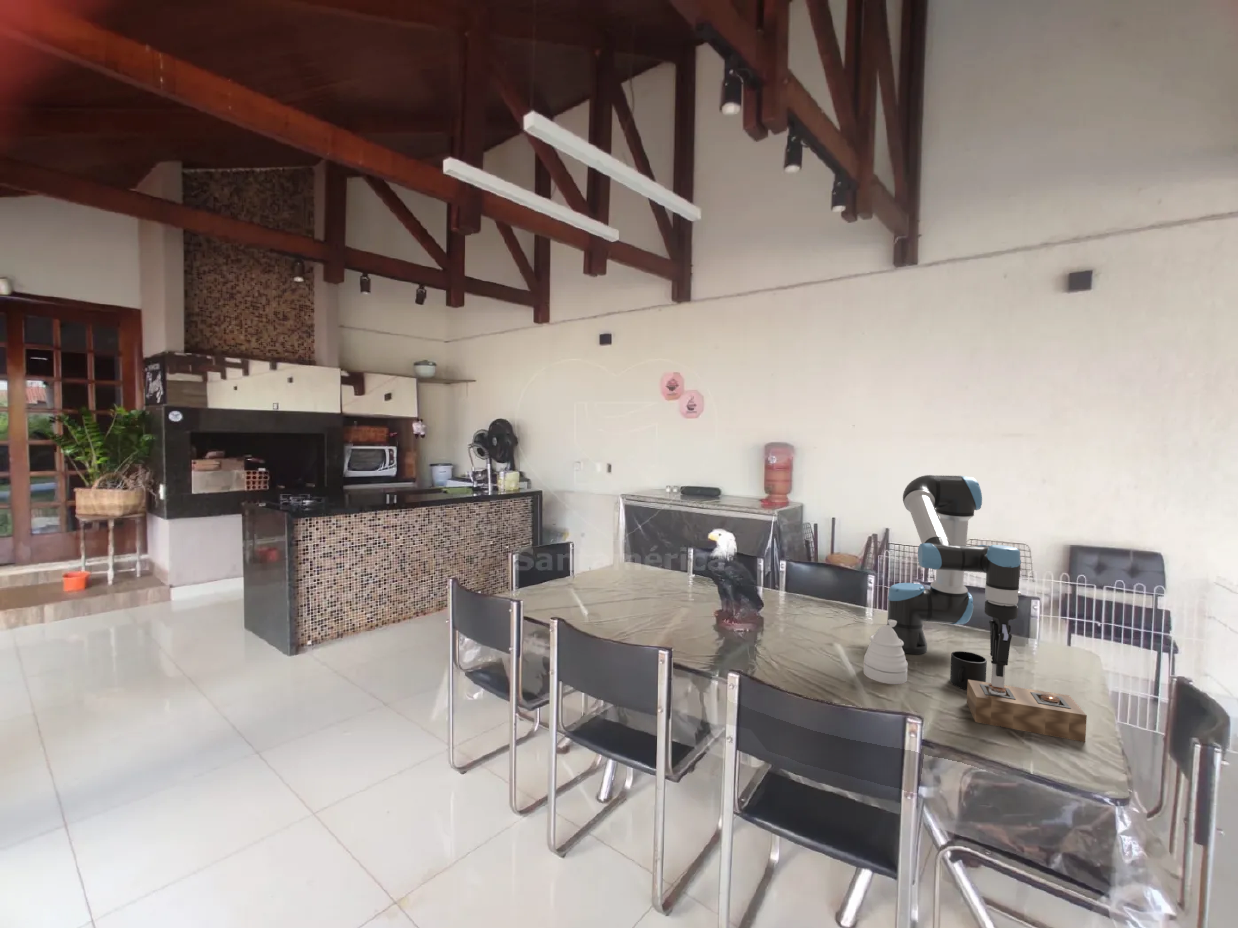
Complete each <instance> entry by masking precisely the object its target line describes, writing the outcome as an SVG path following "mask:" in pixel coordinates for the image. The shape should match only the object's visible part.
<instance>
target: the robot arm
mask: <svg viewBox="0 0 1238 928" xmlns="http://www.w3.org/2000/svg"><path fill="white" fill-rule="evenodd" d="M982 494H983V493H982V490H981V486H980V484H979V482H978V480H977V479H976V478H974V477H973V476H965V475H933V474H925V475H921V476H918V477H916V478H914V479H912V480H911V481H910V482H909V483H908V484H907V485H906V487H905V489H904V491H903V493H902V501H903V506H904V508H905V509H906V510H907V511H908V512H909V513H910V516H911V518H912V521H913V523H914V526H915V529H916V532H917V535H918V536H919V540H920V542H921V543H920V544H919V546H918V547H917V561H918V564H919V566H920V567H922V568H924V569H932V570H936V571H935V580H934V581H932V582H931V583H930V587H929V588H925V587H924V585H923V584H921V583H914V582H899V583H895V584H892V585H891V586H889V588H888V596H887V622H886V623H887V624H886V625H889V623H888V620H896V621H897V624H896V625H895V626H894V627H892V628H893V630H894V631H895V632H896V634H897V636H898V638H899V639H901V640H902V641H903V642H904V645H903V646H902V649H903V651H904V654H908V655H922V654H923V655H924V654H925V653H927V651H928V642H927V640H926V636H925V632H924V630H923V625H924V624H923V623H924V622H928V623H929V622H930V623H941V624H948V625H966V624H967V623H968V622H969V621H970V620H971V618H972V615H973V611H974V604H973V603H974V599H973V596H972V594H971V593H970V592H969V590H968V587H966V585H964V578H965V572H968V573H969V572H970V573H971V572H972V573H984V574H985V586H984V587H985V588H984V589H985V590H984V592H985V593H984V599H986V600H985V601H984V613H985V615H987V616H988V617H991V618H992V620H991V619H990V620H989V622H988V623H989V634H990V635H989V637H990V638H989V639H990V641H989V642H990V644H989V645H990V651H989V652H990V653H989V654H990V656H991V660H990V662H991V678H990V679H991V680H990V681H991V682H990V683H991V685H992V686H994V687H1000V688H1004V685H1005V680H1006V679H1005V678H1006V677H1005V676H1006V675H1005V673H1006V666H1008V665H1009V658H1010V657H1009V656H1010V649H1011V648H1010V647H1011V641H1012V637H1013V635H1012V633H1010V632H1011V628H1012V627H1011V625H1010V624H1009V621H1013V620H1017V618H1018V615H1019V606H1018V605H1017V604H1018V603H1019V596H1021V595H1022V593H1021V592H1020V591H1019V590H1020V589H1019V588H1020V574H1021V573H1020V572H1021V564H1022V560H1021V551H1020V549H1019V548H1017V547H1015V546H1011V545H1006V544H1005V545H1004V544H1003V545H1002V544H993V545H988V544H979V545H967V542H968V530H969V529H968V528H969V527H968V526H969V520H970V519H971V518H973V517H974V516H975V511H978V510H980V509H981V508H982V504H983V495H982Z"/></svg>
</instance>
